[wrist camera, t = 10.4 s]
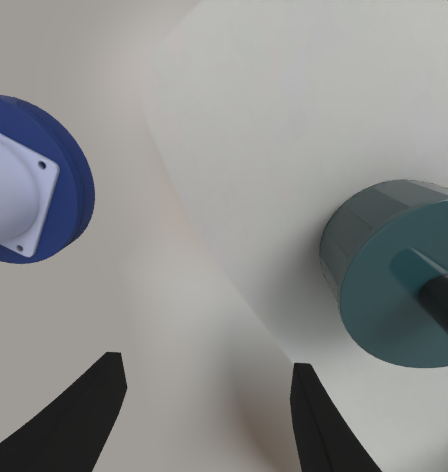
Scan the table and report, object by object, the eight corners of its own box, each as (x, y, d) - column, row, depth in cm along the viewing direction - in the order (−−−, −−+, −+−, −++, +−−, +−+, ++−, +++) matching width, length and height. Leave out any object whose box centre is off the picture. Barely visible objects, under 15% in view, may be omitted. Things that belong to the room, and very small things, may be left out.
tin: (293, 267, 21) (308, 312, 16) (380, 151, 17) (434, 162, 12) (395, 322, 22) (439, 381, 17) (496, 224, 18) (589, 261, 13)
